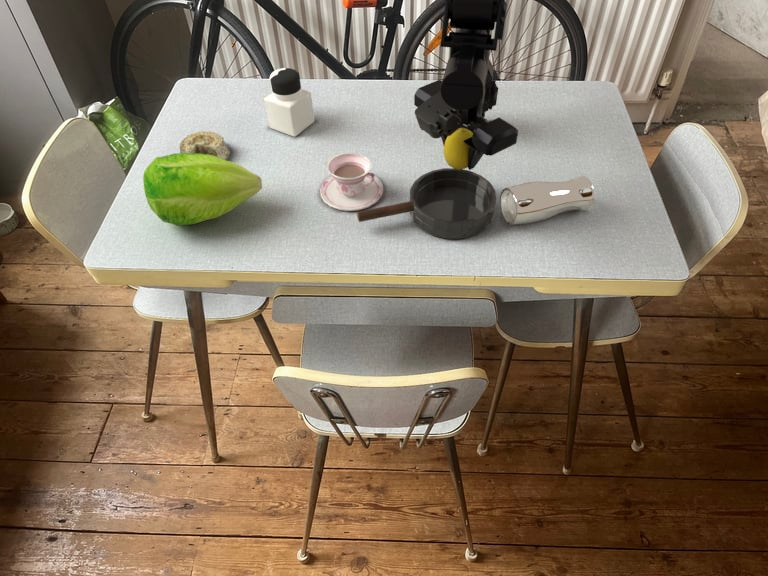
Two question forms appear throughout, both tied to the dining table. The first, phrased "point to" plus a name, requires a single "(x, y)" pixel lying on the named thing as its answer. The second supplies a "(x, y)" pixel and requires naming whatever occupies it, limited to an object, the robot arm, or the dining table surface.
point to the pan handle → (385, 211)
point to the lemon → (457, 149)
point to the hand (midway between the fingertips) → (459, 160)
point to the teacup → (350, 183)
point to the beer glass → (545, 199)
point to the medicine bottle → (288, 103)
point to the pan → (452, 203)
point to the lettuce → (196, 187)
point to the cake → (205, 144)
